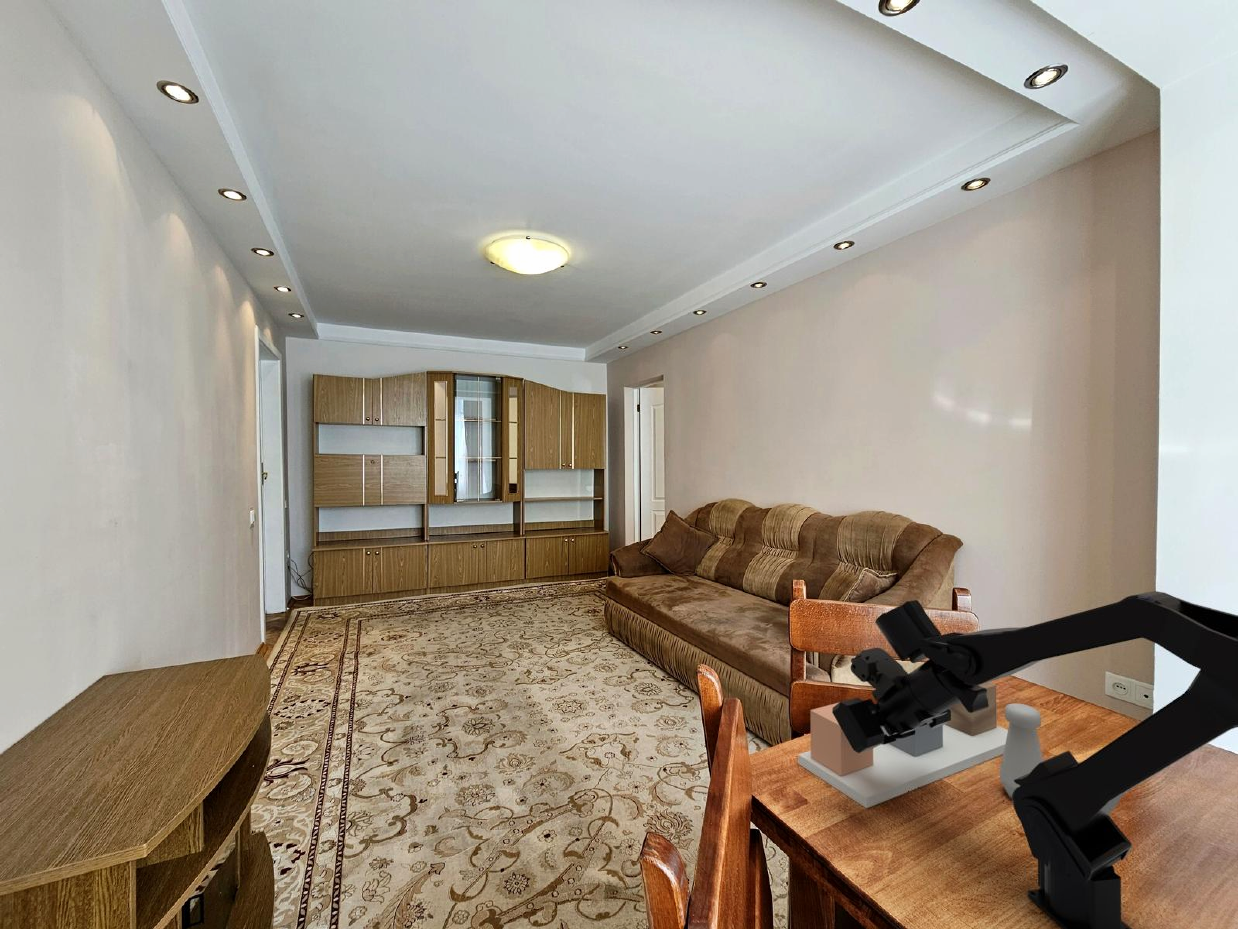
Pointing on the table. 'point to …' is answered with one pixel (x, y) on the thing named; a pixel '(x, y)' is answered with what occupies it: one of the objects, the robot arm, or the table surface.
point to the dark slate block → (921, 740)
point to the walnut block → (975, 715)
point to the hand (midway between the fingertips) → (858, 736)
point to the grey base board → (910, 765)
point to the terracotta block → (834, 744)
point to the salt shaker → (1020, 745)
